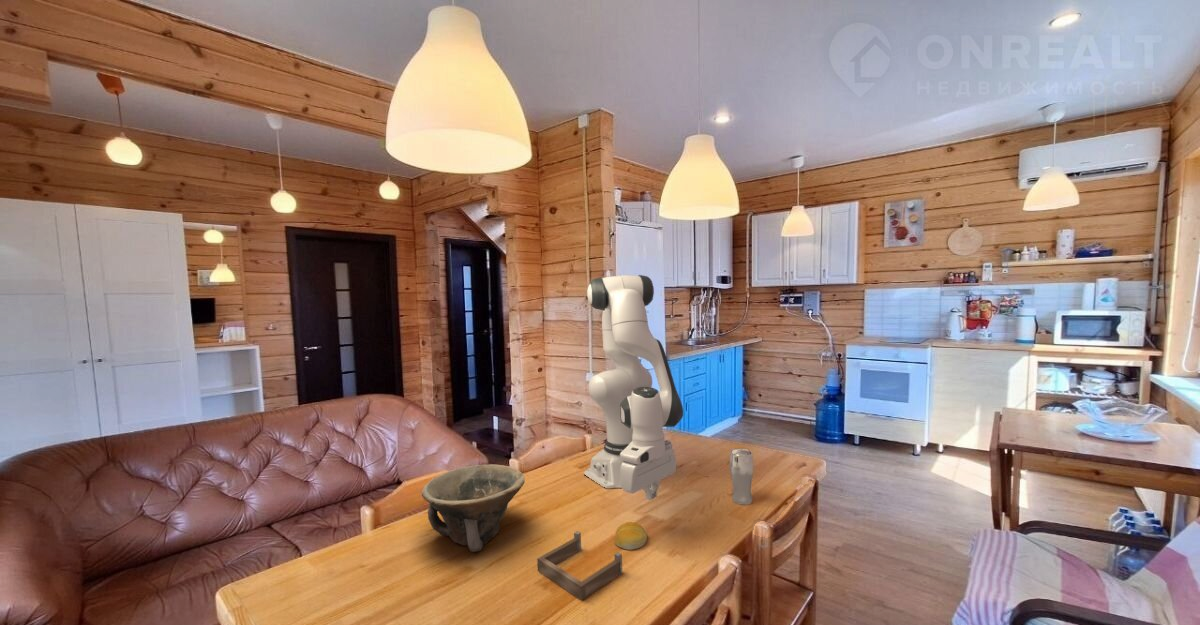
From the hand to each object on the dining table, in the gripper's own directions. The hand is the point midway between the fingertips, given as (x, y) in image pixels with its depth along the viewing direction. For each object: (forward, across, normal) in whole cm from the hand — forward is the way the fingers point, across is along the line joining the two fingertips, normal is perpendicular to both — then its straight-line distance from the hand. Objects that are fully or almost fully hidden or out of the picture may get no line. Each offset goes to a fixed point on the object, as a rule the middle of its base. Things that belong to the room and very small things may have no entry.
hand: (651, 498), depth 120 cm
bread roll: (+9, +8, -1) cm, 12 cm away
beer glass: (+9, -31, +10) cm, 34 cm away
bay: (+8, +26, -1) cm, 28 cm away
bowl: (+8, +34, -35) cm, 49 cm away
